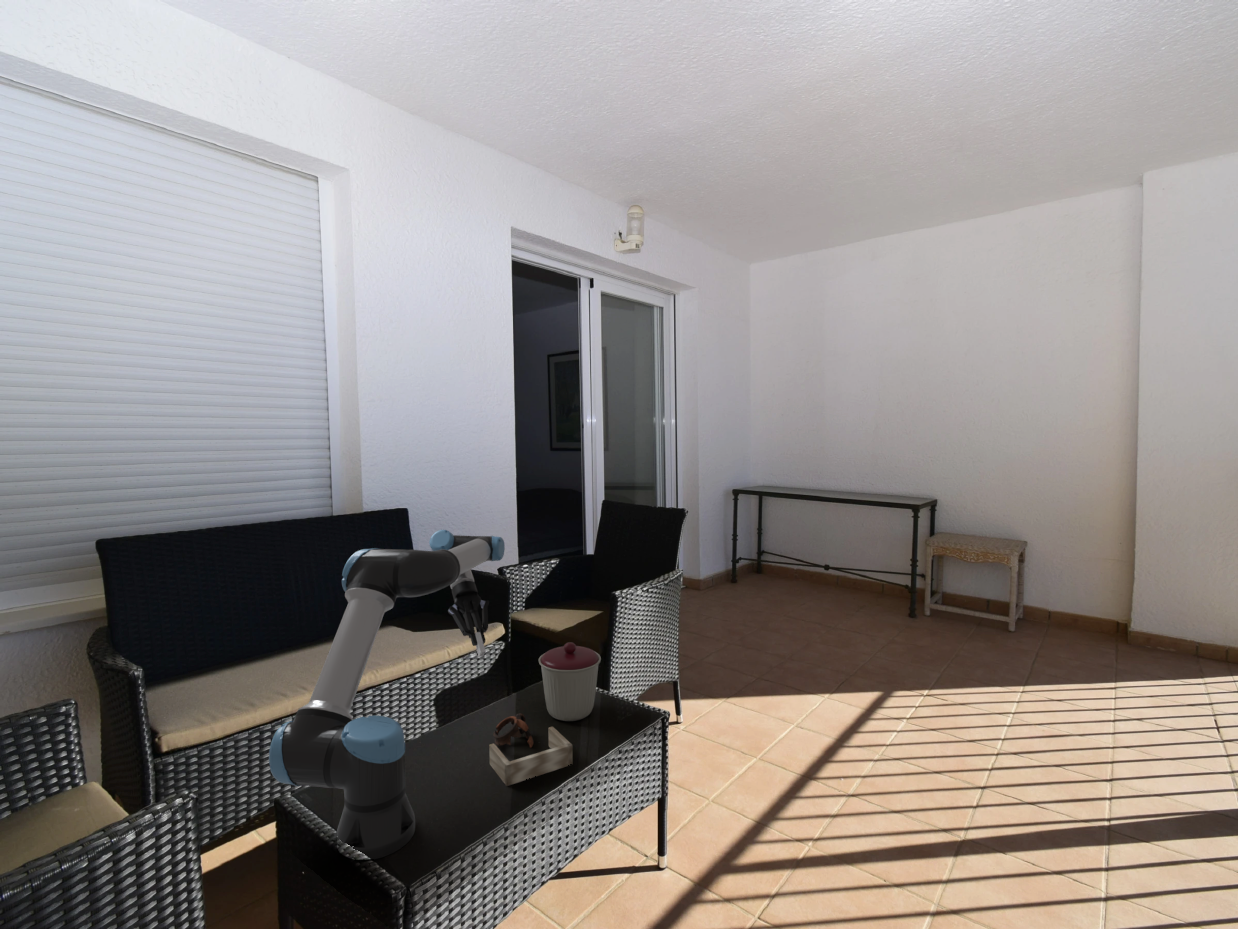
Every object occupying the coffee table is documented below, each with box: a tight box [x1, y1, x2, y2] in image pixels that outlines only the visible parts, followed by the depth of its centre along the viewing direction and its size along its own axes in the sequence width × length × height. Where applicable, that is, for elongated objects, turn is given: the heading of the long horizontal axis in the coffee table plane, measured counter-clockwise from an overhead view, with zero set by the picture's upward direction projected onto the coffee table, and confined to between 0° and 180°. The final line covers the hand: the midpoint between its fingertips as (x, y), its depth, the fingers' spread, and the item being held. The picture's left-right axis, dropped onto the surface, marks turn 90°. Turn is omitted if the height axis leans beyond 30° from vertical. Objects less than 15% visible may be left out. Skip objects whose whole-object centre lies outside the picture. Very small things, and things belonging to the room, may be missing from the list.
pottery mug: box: [492, 712, 534, 749], centre depth 165 cm, size 12×10×8 cm
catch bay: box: [488, 726, 574, 787], centre depth 154 cm, size 17×11×5 cm, turn 122°
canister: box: [538, 641, 602, 722], centre depth 181 cm, size 18×18×21 cm
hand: (482, 654), depth 183 cm, fingers closed
